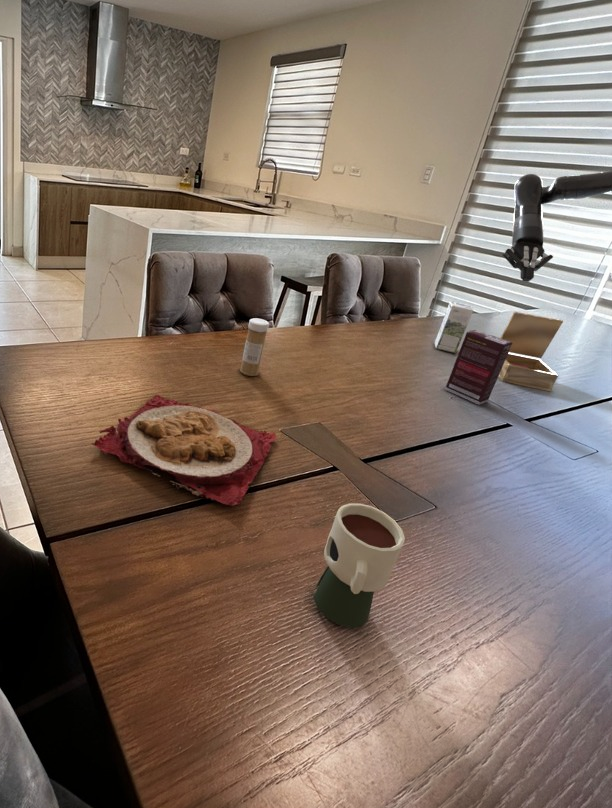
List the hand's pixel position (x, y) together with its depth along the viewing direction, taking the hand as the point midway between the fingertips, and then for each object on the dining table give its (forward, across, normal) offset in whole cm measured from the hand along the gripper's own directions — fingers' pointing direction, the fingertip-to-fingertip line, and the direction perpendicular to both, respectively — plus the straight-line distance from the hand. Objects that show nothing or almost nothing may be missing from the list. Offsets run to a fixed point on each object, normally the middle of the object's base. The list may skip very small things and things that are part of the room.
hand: (527, 280), depth 139 cm
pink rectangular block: (+30, 0, -2) cm, 30 cm away
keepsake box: (+30, 0, -4) cm, 30 cm away
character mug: (+98, +53, +66) cm, 130 cm away
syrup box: (+21, +16, -13) cm, 29 cm away
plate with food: (+81, +78, +49) cm, 123 cm away
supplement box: (+45, +19, +12) cm, 51 cm away
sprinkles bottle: (+56, +71, +23) cm, 94 cm away
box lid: (+19, 0, +1) cm, 19 cm away
